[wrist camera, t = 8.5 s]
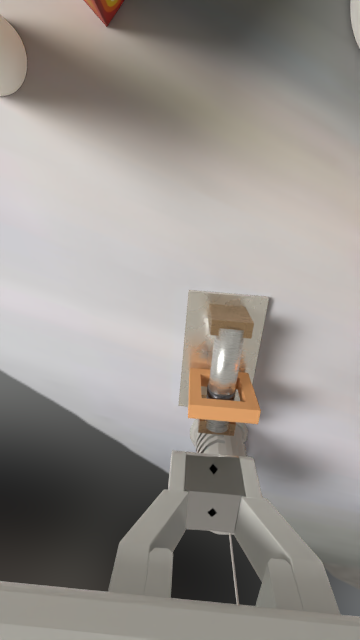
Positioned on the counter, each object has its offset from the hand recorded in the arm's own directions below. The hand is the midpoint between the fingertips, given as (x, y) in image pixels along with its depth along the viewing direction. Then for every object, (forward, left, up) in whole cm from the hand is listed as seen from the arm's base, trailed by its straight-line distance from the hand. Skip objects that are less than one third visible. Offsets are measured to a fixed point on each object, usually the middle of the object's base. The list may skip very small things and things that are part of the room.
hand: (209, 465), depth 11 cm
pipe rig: (-4, +11, -31) cm, 33 cm away
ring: (-4, +14, -30) cm, 33 cm away
